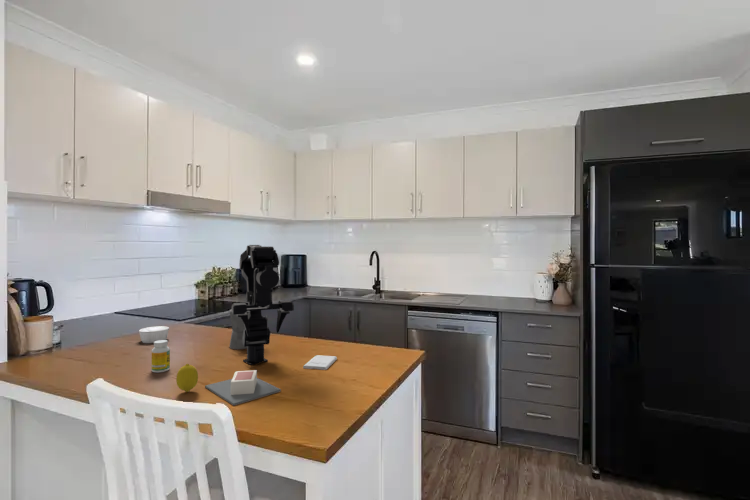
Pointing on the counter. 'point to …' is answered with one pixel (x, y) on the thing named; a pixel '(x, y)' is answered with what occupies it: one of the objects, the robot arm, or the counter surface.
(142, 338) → the ramekin
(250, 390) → the card box
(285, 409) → the counter surface
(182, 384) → the lemon
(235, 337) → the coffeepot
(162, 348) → the supplement bottle
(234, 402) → the mat
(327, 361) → the external hard drive
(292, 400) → the counter surface
